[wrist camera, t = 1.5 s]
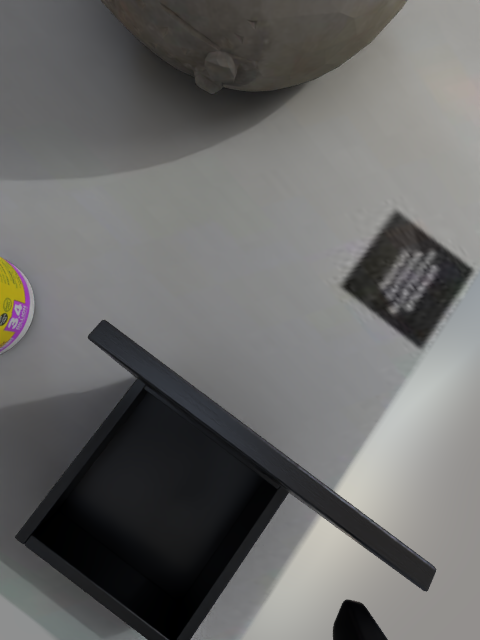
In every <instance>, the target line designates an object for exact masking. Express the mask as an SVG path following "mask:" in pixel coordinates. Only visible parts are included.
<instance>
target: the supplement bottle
mask: <svg viewBox="0 0 480 640" xmlns="http://www.w3.org/2000/svg"><path fill="white" fill-rule="evenodd" d="M34 307H35V302H34V294H33V291H32V288H31V285H30V283H29V281H28V280H27V278H26V277H25V275H24V274H23V273H22V272H21V271H20V270H19V269H18V268H17V267H16V266H14V265H13V264H12V263H10V262H8V261H7V260H5V259H3V258H1V257H0V354H2V353H4V352H6V351H8V350H9V349H11V348H12V347H13V346H14V345H16V344H17V343H18V342H19V341H20V340H21V338H22V337H23V336H24V335H25V333H26V332H27V330H28V328H29V326H30V324H31V321H32V319H33V315H34Z"/></svg>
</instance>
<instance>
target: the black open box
mask: <svg viewBox="0 0 480 640" xmlns="http://www.w3.org/2000/svg"><path fill="white" fill-rule="evenodd" d="M288 493H289V492H288V491H286V490H285V489H284V488H282V487H281V486H280V485H278V484H277V483H276V482H274V481H273V480H272V479H270V478H269V477H268V476H266V475H265V474H264V473H262V472H261V471H260V470H258V469H257V468H256V467H254V466H253V465H252V464H250V463H249V462H248V461H246V460H245V459H244V458H242V457H241V456H240V455H238V454H237V453H236V452H234V451H233V450H232V449H230V448H229V447H228V446H226V445H225V444H224V443H222V442H221V441H220V440H218V439H217V438H216V437H214V436H213V435H212V434H210V433H209V432H208V431H206V430H205V429H204V428H202V427H201V426H200V425H198V424H197V423H196V422H194V421H193V420H192V419H190V418H189V417H188V416H186V415H185V414H184V413H182V412H181V411H180V410H178V409H177V408H176V407H174V406H173V405H172V404H170V403H169V402H168V401H166V400H165V399H164V398H162V397H161V396H160V395H158V394H157V393H156V392H154V391H153V390H152V389H150V388H149V387H148V386H146V385H145V384H144V383H142V382H141V381H140V380H138V379H137V380H136V381H135V382H134V384H133V385H132V386H131V387H130V389H129V390H128V391H127V393H126V394H125V395H124V396H123V398H122V399H121V400H120V402H119V403H118V404H117V406H116V407H115V408H114V409H113V411H112V412H111V413H110V415H109V416H108V417H107V418H106V420H105V421H104V422H103V424H102V425H101V426H100V428H99V429H98V430H97V431H96V433H95V434H94V435H93V437H92V438H91V439H90V440H89V442H88V443H87V444H86V446H85V447H84V448H83V450H82V451H81V452H80V453H79V455H78V456H77V457H76V459H75V460H74V461H73V462H72V464H71V465H70V466H69V468H68V469H67V470H66V471H65V473H64V474H63V475H62V477H61V478H60V479H59V481H58V482H57V483H56V484H55V486H54V487H53V488H52V490H51V491H50V492H49V493H48V495H47V496H46V497H45V499H44V500H43V501H42V503H41V504H40V505H39V506H38V508H37V509H36V510H35V512H34V513H33V514H32V515H31V517H30V518H29V519H28V521H27V522H26V523H25V525H24V526H23V527H22V528H21V530H20V531H19V532H18V534H17V535H16V536H15V538H16V539H17V540H18V541H20V542H21V543H22V544H25V546H26V547H28V548H29V549H30V550H32V551H33V552H34V553H36V554H37V555H38V556H39V557H41V558H42V559H43V560H45V561H46V562H47V563H49V564H50V565H51V566H52V567H54V568H55V569H56V570H58V571H59V572H60V573H62V574H63V575H64V576H66V577H67V578H68V579H69V580H71V581H72V582H73V583H75V584H76V585H77V586H79V587H80V588H81V589H82V590H84V591H85V592H86V593H88V594H89V595H90V596H92V597H93V598H94V599H96V600H97V601H98V602H99V603H101V604H102V605H103V606H105V607H106V608H107V609H109V610H110V611H111V612H112V613H114V614H115V615H116V616H118V617H119V618H120V619H122V620H123V621H124V622H126V623H127V624H128V625H129V626H131V627H132V628H133V629H135V630H136V631H137V632H139V633H140V634H141V635H142V636H144V637H145V638H146V639H148V640H190V639H191V638H192V636H193V635H194V633H195V632H196V630H197V629H198V627H199V626H200V624H201V623H202V621H203V620H204V618H205V617H206V615H207V614H208V612H209V611H210V609H211V608H212V606H213V605H214V603H215V602H216V600H217V599H218V597H219V596H220V594H221V593H222V592H223V590H224V589H225V587H226V586H227V584H228V583H229V581H230V580H231V578H232V577H233V575H234V574H235V572H236V571H237V569H238V568H239V566H240V565H241V563H242V562H243V560H244V559H245V557H246V556H247V554H248V553H249V551H250V550H251V548H252V547H253V545H254V544H255V542H256V541H257V539H258V538H259V536H260V535H261V533H262V532H263V530H264V529H265V527H266V526H267V524H268V523H269V521H270V520H271V518H272V517H273V515H274V514H275V513H276V511H277V510H278V508H279V507H280V505H281V504H282V502H283V501H284V499H285V498H286V496H287V495H288Z"/></svg>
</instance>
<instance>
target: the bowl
mask: <svg viewBox="0 0 480 640" xmlns="http://www.w3.org/2000/svg"><path fill="white" fill-rule="evenodd" d="M101 1H102V2H103V4H104V5H105V6H106V7H107V8H108V9H109V10H110V11H111V12H112V13H113V14H114V15H115V16H116V17H117V19H118V20H119V21H120V22H121V23H122V24H123V25H124V26H125V27H126V28H127V29H128V30H129V31H130V32H131V33H132V34H133V35H134V36H135V37H136V38H137V39H138V40H139V41H141V42H142V43H143V44H144V45H145V46H146V47H148V48H149V49H150V50H151V51H152V52H153V53H155V54H156V55H157V56H158V57H160V58H161V59H162V60H164V61H165V62H167V63H168V64H170V65H171V66H173V67H174V68H176V69H178V70H180V71H182V72H184V73H186V74H189V75H191V76H193V77H195V83H196V85H197V86H198V87H200V88H202V89H203V90H205V91H207V92H208V93H210V94H214V93H216V92H218V91H220V90H221V89H222V88H223V87H225V88H228V89H235V90H241V91H272V90H277V89H282V88H286V87H291V86H294V85H298V84H301V83H304V82H307V81H311V80H314V79H316V78H318V77H320V76H322V75H324V74H325V73H327V72H329V71H331V70H333V69H335V68H337V67H339V66H340V65H342V64H343V63H344V62H346V61H347V60H348V59H350V58H351V57H352V56H354V55H355V54H356V53H358V52H359V51H360V50H361V49H363V48H364V47H365V46H367V45H368V44H369V43H371V42H372V40H373V39H374V38H375V37H376V36H377V35H378V34H379V33H380V32H381V31H382V30H383V28H384V27H385V26H386V25H387V24H388V23H389V22H390V21H391V20H392V19H393V18H394V16H395V15H396V14H397V13H398V12H399V11H400V10H401V9H402V7H403V6H404V4H405V3H406V2H407V0H101Z"/></svg>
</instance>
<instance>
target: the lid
mask: <svg viewBox="0 0 480 640" xmlns="http://www.w3.org/2000/svg"><path fill="white" fill-rule="evenodd" d="M88 339H89V340H90V341H92V342H93V343H94V344H95V345H97V346H98V347H99V348H100V349H101V350H103V351H104V352H105V353H106V354H108V355H109V356H110V357H111V358H113V359H114V360H115V361H116V362H117V363H119V364H120V365H121V366H122V367H124V368H125V369H126V370H127V371H129V372H130V373H131V374H132V375H133V376H135V377H136V378H137V379H138V380H140V381H141V382H142V383H144V384H145V385H146V386H148V387H149V388H150V389H152V390H153V391H154V392H156V393H157V394H158V395H160V396H161V397H162V398H164V399H165V400H166V401H168V402H169V403H170V404H172V405H173V406H174V407H176V408H177V409H178V410H180V411H181V412H182V413H184V414H185V415H186V416H188V417H189V418H190V419H192V420H193V421H194V422H196V423H197V424H198V425H200V426H201V427H202V428H204V429H205V430H206V431H208V432H209V433H210V434H212V435H213V436H214V437H216V438H217V439H218V440H220V441H221V442H222V443H224V444H225V445H226V446H228V447H229V448H230V449H232V450H233V451H234V452H236V453H237V454H238V455H240V456H241V457H242V458H244V459H245V460H246V461H248V462H249V463H250V464H252V465H253V466H254V467H256V468H257V469H258V470H260V471H261V472H262V473H264V474H265V475H266V476H268V477H269V478H270V479H272V480H273V481H274V482H276V483H277V484H278V485H280V486H281V487H282V488H284V489H285V490H286V491H288V492H289V493H290V494H292V495H293V496H294V497H296V498H297V499H298V500H300V501H301V502H303V503H304V504H305V505H307V506H308V507H309V508H311V509H312V510H314V511H315V512H316V513H318V514H319V515H320V516H322V517H323V518H325V519H326V520H327V521H329V522H330V523H331V524H333V525H334V526H335V527H337V528H338V529H340V530H341V531H342V532H344V533H345V534H347V535H348V536H349V537H351V538H352V539H353V540H355V541H356V542H358V543H359V544H360V545H362V546H363V547H364V548H366V549H367V550H369V551H370V552H371V553H373V554H374V555H375V556H377V557H378V558H380V559H381V560H382V561H384V562H385V563H386V564H388V565H389V566H391V567H392V568H393V569H395V570H396V571H397V572H399V573H400V574H401V575H403V576H404V577H406V578H407V579H408V580H410V581H411V582H412V583H414V584H415V585H417V586H418V587H419V588H421V589H422V590H423V591H428V589H429V587H430V584H431V582H432V579H433V577H434V575H435V572H436V568H435V567H434V566H433V565H432V564H430V563H429V562H428V561H426V560H425V559H423V558H422V557H421V556H420V555H418V554H417V553H416V552H414V551H413V550H412V549H410V548H409V547H408V546H406V545H405V544H403V543H402V542H401V541H399V540H398V539H397V538H396V537H394V536H393V535H391V534H390V533H389V532H388V531H386V530H385V529H383V528H382V527H381V526H379V525H378V524H377V523H375V522H374V521H373V520H371V519H370V518H369V517H367V516H366V515H365V514H363V513H362V512H361V511H359V510H358V509H357V508H355V507H354V506H353V505H351V504H350V503H349V502H347V501H346V500H345V499H343V498H342V497H340V496H339V495H338V494H337V493H335V492H334V491H333V490H331V489H330V488H329V487H327V486H326V485H325V484H323V483H322V482H321V481H319V480H318V479H317V478H315V477H314V476H313V475H311V474H310V473H309V472H307V471H306V470H305V469H303V468H302V467H301V466H299V465H298V464H297V463H295V462H294V461H293V460H291V459H290V458H289V457H287V456H286V455H285V454H283V453H282V452H281V451H279V450H278V449H277V448H275V447H274V446H273V445H271V444H270V443H269V442H267V441H266V440H265V439H263V438H262V437H261V436H259V435H258V434H257V433H255V432H254V431H253V430H251V429H250V428H249V427H247V426H246V425H245V424H243V423H242V422H241V421H239V420H238V419H237V418H235V417H234V416H233V415H231V414H230V413H229V412H227V411H226V410H225V409H223V408H222V407H221V406H219V405H218V404H217V403H215V402H214V401H213V400H211V399H210V398H209V397H207V396H206V395H205V394H203V393H202V392H201V391H199V390H198V389H197V388H195V387H194V386H193V385H191V384H190V383H189V382H187V381H186V380H185V379H183V378H182V377H181V376H179V375H178V374H177V373H175V372H174V371H173V370H171V369H170V368H169V367H167V366H166V365H165V364H163V363H162V362H161V361H159V360H158V359H157V358H155V357H154V356H153V355H151V354H150V353H149V352H147V351H146V350H145V349H143V348H142V347H141V346H139V345H138V344H137V343H135V342H134V341H133V340H131V339H130V338H129V337H127V336H126V335H125V334H123V333H122V332H121V331H119V330H118V329H117V328H115V327H114V326H113V325H111V324H110V323H109V322H107V321H106V320H102V321H101V322H100V323H99V324H98V325H97V326H96V328H95V329H94V330H93V331H92V332H91V333H90V334H89V335H88Z"/></svg>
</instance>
